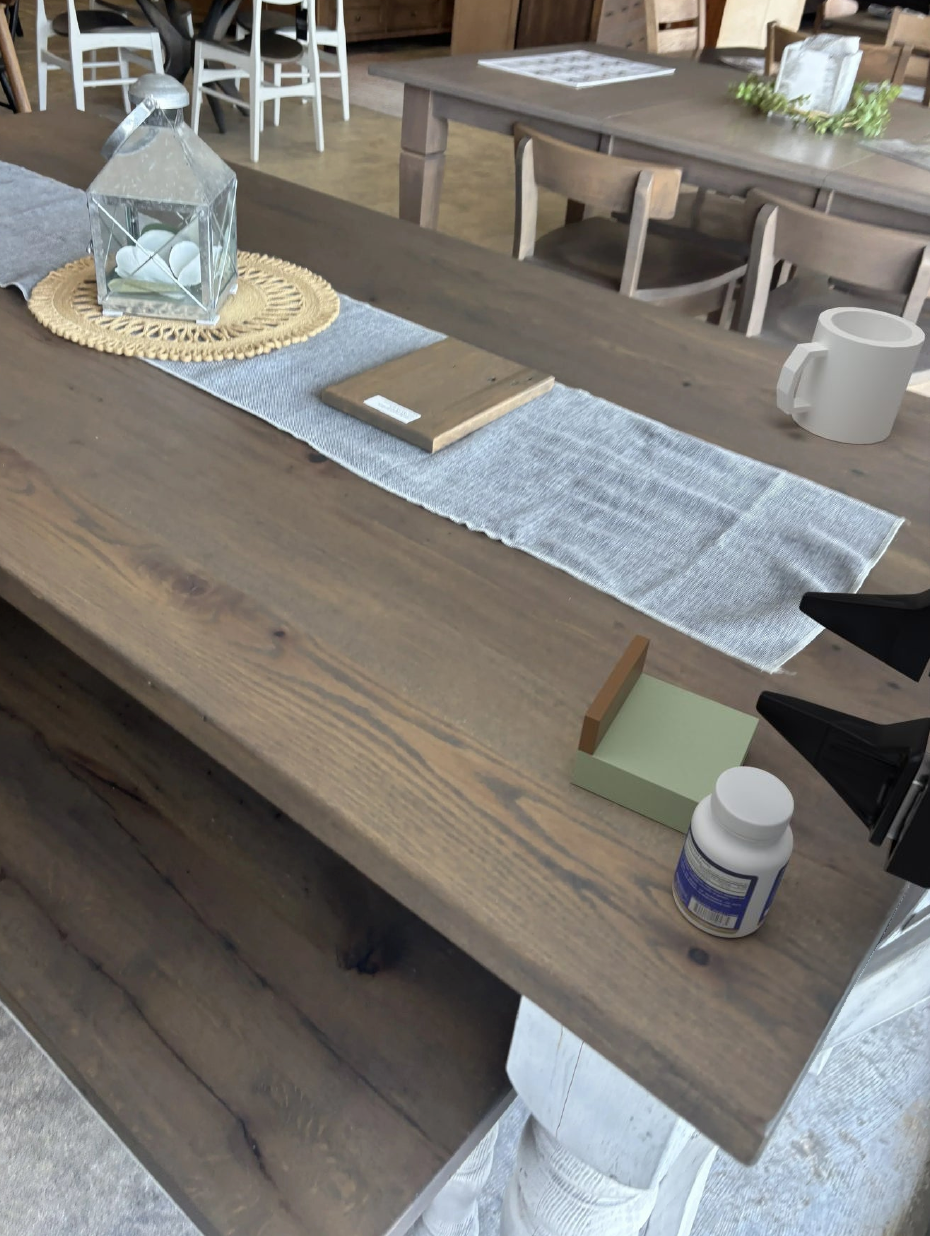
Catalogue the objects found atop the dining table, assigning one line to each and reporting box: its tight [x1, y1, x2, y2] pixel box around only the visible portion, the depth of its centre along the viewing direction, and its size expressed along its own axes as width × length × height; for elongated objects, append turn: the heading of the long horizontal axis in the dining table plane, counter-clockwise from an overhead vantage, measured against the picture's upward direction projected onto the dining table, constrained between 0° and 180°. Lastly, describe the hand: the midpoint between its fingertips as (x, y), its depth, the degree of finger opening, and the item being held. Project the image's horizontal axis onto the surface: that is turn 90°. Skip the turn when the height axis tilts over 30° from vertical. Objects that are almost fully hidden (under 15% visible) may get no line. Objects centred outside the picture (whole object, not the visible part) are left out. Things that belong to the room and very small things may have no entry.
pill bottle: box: [671, 766, 795, 939], centre depth 54 cm, size 5×5×9 cm
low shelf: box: [570, 633, 760, 836], centre depth 63 cm, size 9×9×6 cm
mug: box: [776, 306, 926, 445], centre depth 103 cm, size 14×10×11 cm
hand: (781, 646), depth 51 cm, fingers open, 9 cm apart
